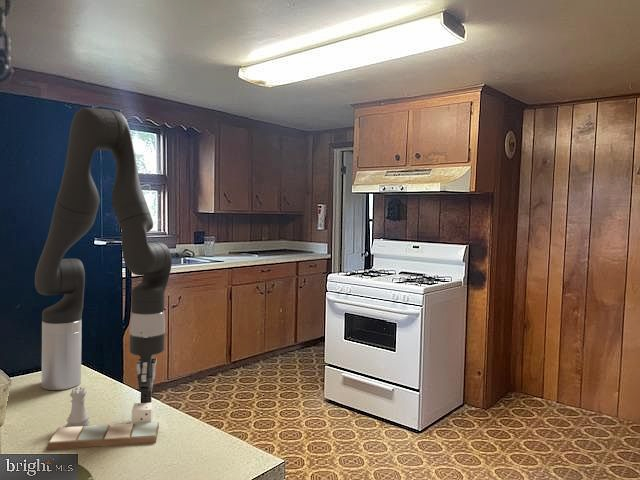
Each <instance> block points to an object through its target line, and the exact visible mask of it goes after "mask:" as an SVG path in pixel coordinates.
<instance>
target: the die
mask: <svg viewBox="0 0 640 480" xmlns="http://www.w3.org/2000/svg"><path fill="white" fill-rule="evenodd" d="M147 422H154V402H152V401H151V403H141V402H134V403H133V406H132V409H131V423H133V424H135V423H147Z"/></svg>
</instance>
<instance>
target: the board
mask: <svg viewBox="0 0 640 480" xmlns="http://www.w3.org/2000/svg"><path fill="white" fill-rule="evenodd" d="M159 429H160V422H159V421H152V422H147V423H135V424H133V423H132V422H130V423H115V424H99V425H98V424H97V425H96V424H95V425H87V426H77V427H67V426H64V427H63V426H62V427H61V426H60V427H58V428H57V429H56V430H55V432H54V434H53V435H52V436H51V439H50V440H49V441H48V443H47V450H62V449H77V448H91V447H92V448H94V447H108V446H123V445H124V446H125V445H136V444H137V445H138V444H152V443H153V444H154V443H157V439H158V438H157V437H158V434H159Z"/></svg>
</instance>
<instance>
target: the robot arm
mask: <svg viewBox="0 0 640 480" xmlns="http://www.w3.org/2000/svg"><path fill="white" fill-rule="evenodd" d="M133 142H134V141H133V138H132V134H131V130H130V126H129V123H128V120H127V119H126V117H125V116H124V114H122V113H121V112H120V111H117V110H113V109H105V108H95V107H82V108H79V109H78V110H77V111H76V112H75V114H74V115H73V118H72V121H71V125H70V131H69V137H68V143H67V144H68V145H67V151H66V152H67V153H66V158H65V164H64V169H63V174H62V178H61V181H60V182H61V183H60V187H59V191H58V193H57V197H56V201H55V205H54V207H53V213H52V216H51V222H50V227H49V230H48V235H47V238H46V241H45V244H44V247H43V249H42V252H41V254H40V256H39V259H38V263H37V266H36V269H35V273H34V286H35V289H36V292H37V293H38V294H40V295H42V296H59V295H63V297H62V298H61V299H60V300H59V301H57V302H55V304H53V305H50V306H48V307H46V308H44V309H43V310H42V311H41V312H42V313H41V383H40V384H41V388H42V389H45V390H46V391H47V390H50V391H60V390H67V389H71V388H72V389H73V388H76V387H77V386H79V385H80V384H81V381H82V338H83V337H82V335H83V334H82V331H83V330H82V326H83V325H82V324H83V323H82V322H83V321H82V316H83V309H84V298H85V296H84V295H85V284H86V272H85V271H86V269H85V267H84V263H83V262H82V260H80V259H78V258H64V257H65V254H66V253H67V252H68V251H69V249H70V248H71V247H73V246H74V245H75V244H76V243H77V242H78V241H80V240H81V239H82V237H84V236H85V235H86V234H87V233H88V232H89V231H90V229H91V228H92V227H93V225H94V223H95V221H96V217H97V213H98V211H99V206H100V201H101V200H100V194H99V191H98V188H97V186H96V183H95V182H94V179H93V176H92V173H91V167H92V166H91V165H92V160H93V156H94V154H95V151H109V152H110V153H111V154H112V156H113V159H114V162H115V169H116V170H115V171H116V172H115V177H114V182H113V188H112V192H111V193H112V194H111V203H112V209H113V210H114V213H115V214H114V215H115V217H116V220H117V222H118V225H119V227H120V230H121V231H120V232H121V245H122V247H121V248H122V256H123V262H124V264H125V266H126V268H127V269H128V270H129V271H130V272H131V273H132V274H133V275H136V276H140V277H141V276H142V279H141V281H140V283H139V284H137V285H136V286H134V287H133V288H132V291H131V308H130V319H129V341H128V342H129V346H128V347H129V353H130V354H131V355H133V356H139V358H138V359H137V362H136V371H137V375H136V376H137V384H138V385H137V386H138V392H139V393H140V403H152V393H153V391H152V390H153V387H154V382H155V377H156V366H157V362H158V361H157V360H158V359H157V357H154V355H159V354H163V352H164V351H165V350H166V349H165V346H166V344H165V341H166V340H165V339H166V317H165V315H166V314H165V292H166V289H167V286H168V283H169V279H170V274H171V269H172V266H173V260H172V252H171V250H170V249H169V247H168V246H167V245H166V244H165V243H164V242H160V241H153V242H152V241H151V242H149V240H148V235H147V234H148V233H149V232H150V231H151V230H152V229H153V228H154V221H153V218H152V215H151V212H150V209H149V206H148V204H147V201H146V198H145V195H144V192H143V189H142V186H141V182H140V177H139V176H140V175H139V171H138V165H137V160H136V153H135V149H134V143H133Z"/></svg>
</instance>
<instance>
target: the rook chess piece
mask: <svg viewBox="0 0 640 480" xmlns="http://www.w3.org/2000/svg"><path fill="white" fill-rule="evenodd" d="M87 394H88V393H87V391H86V389H85V387H82V386H80V387H77V386H76V387H74V388H72V389H71V392H70V394H69V395H70V397H71V400H70V402H71V409H70V410H71V411H70V414H69V415H68V417H67V420H66V422H67V423H66V426H65V427H77V426H89V423H90V421H89V419H90V416H89V415H88V413H87V412H86V407H85V401H86V398H85V396H86V395H87Z"/></svg>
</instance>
